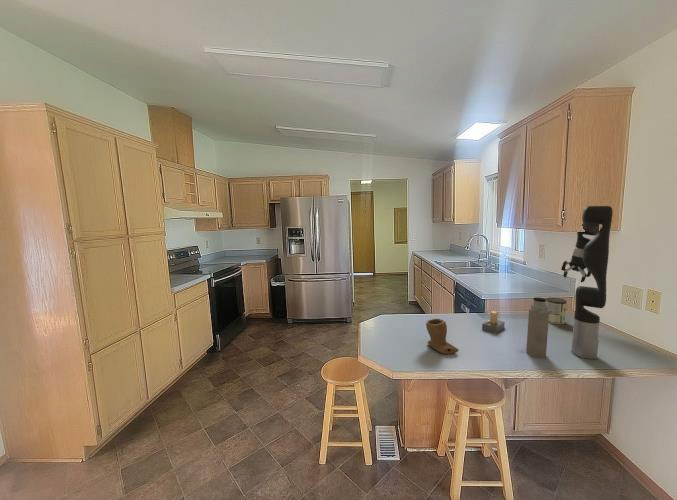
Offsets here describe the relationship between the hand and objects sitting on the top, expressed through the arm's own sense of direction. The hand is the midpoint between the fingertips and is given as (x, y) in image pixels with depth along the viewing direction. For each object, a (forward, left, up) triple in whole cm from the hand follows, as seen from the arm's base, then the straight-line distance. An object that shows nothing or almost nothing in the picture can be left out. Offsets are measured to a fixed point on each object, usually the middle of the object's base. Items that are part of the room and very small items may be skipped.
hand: (573, 279), depth 180 cm
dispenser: (-25, +52, -27) cm, 63 cm away
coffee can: (-3, +10, -27) cm, 29 cm away
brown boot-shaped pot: (-56, +85, -27) cm, 105 cm away
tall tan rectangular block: (-25, +52, -26) cm, 63 cm away
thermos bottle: (-53, +40, -27) cm, 72 cm away
